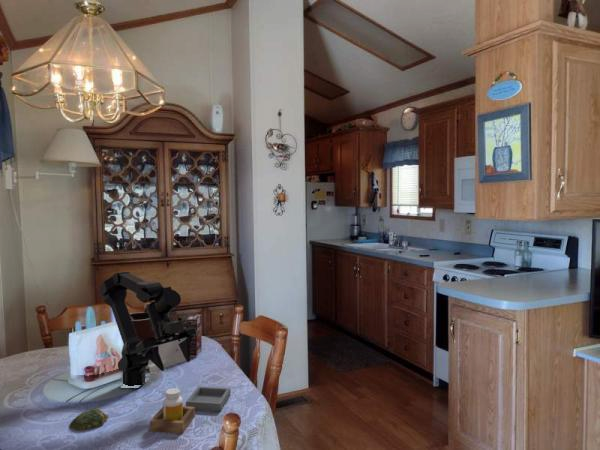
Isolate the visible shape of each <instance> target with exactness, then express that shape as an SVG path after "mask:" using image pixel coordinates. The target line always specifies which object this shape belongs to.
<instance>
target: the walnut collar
mask: <svg viewBox="0 0 600 450" xmlns="http://www.w3.org/2000/svg"><path fill="white" fill-rule="evenodd" d="M195 413H196V410H195V407H189V406H186V405H183V418H182V419H181V420H180V421H178V420H163V406H162V407H161V408H160V409H159V410H158V411H157V412H156V413H155V414H154V416H153V417H152V418H151V419H150V420H149V432H152V433H164V434H165V433H166V434H167V433H169V434H179V435H180V434H181V435H182V434H184V433H185V431H186V430H187V429H188V427H189V426H190V424H191V422H193V420H194V418H195V417H196V415H195Z"/></svg>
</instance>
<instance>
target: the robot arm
mask: <svg viewBox="0 0 600 450" xmlns="http://www.w3.org/2000/svg"><path fill="white" fill-rule="evenodd" d="M98 289H99V290H98V292H99V295H100V296H101V298H102V300H103V303H105V304H106V305H108V306H109V307H110V308H111V311H112V314H113V316H114V320H115V323H116V326H117V329H118V332H119V334H120V337H121V341H122V343H123V344H122V349H121V351H120V353H121V358H120V359H119V361H118V362H117V367H118V368H117V369H118V370H119V371H121V372H122V385H123V384H125V385H128V386H134V385H142V384H143V383H144V382H145V380H146V371H145V369H144V366H148V363H149V360H151V361H152V362H153V363H154V364H155V365H156V366H157V367H158V368H159V370H160V371H161V372H164V371H165V368H164V366H163V363H162V360H161V358H160V355H159V346H158V345H162V344H165V343H169V342H173V341H179V342H180V344H179V347H180V349H181V351H182V353H183V355H184V357H185V359H186V361H185V362H186V363H190V361H191V357H190V344H191V341H192V339H193V338H194V336H195V335H196V334H197V332H196V329H195V328H193V327H190V328H186V326H188V321H187V319H188V318H187V317H186V316H185V315H184V316H179V317H178V318H177V320H174V318H173V316H172V317H170V313H171V312H172V311H173V310H175V308H177V307H178V306H179V305H180V304H181V302H182V297H181V294H179V292H177V291H176V290H175V289H172V287H171V286H166V287H164V286H163V285H162V284H161V282H158V281H145V280H144V279H142V278H140V277H138V276H136V275H133V274H132V273H131V272H130V271H125V270H124V271H121V272H115V273H114V274H112V276H110V277H109V278H108V279H106V280H103V282H102V284H101V285H100V286H99V288H98ZM127 290H129V291H131V292H133V293H135V294H136V295H135V297H136V298H137V299H138V300H139V301H140V302H141V303H146V304H145V308H144V309H143V312H144V313H147V312H148V315H149V318H150V321H151V324H152V327H150V328H151V330H154V333H155V336H156V339H155V338H154V337H152V338H148V339H143V340H140V339H139V338H138V337H137V334H136V331H135V328H134V326H133V323H132V320H131V317H130V314H131V313H130V312H129V310H128V306H127V303H126V299H127V294H128V292H127ZM147 302H150V303H147ZM145 383H146V382H145ZM145 383H144V384H145ZM144 384H143V385H144ZM143 385H142V386H143Z"/></svg>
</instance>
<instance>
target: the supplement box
mask: <svg viewBox="0 0 600 450" xmlns="http://www.w3.org/2000/svg"><path fill="white" fill-rule="evenodd" d="M202 317H203V316H202V314H197V313H196V314H194V313H193V314H190V316H188V318H187V321H188V326H186V327H185V329H186V328H190V327H193V328H195V329H196V332H197V334H196V335H195V336H194V338H193V339H192V341H191V344H190V359H191V358H195V359H196V358H197V357H198V356H199V355H200V353H201V352H202V349H203V347H202V346H203V345H202V342H203V341H202V339H203V338H202V336H203V334H202V333H203V332H202V331H203V330H202V326H203V325H202V323H203V322H202V320H203V318H202Z"/></svg>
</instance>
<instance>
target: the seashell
mask: <svg viewBox="0 0 600 450" xmlns="http://www.w3.org/2000/svg"><path fill="white" fill-rule="evenodd" d="M108 419H109V415H108V414H107V413H105V412H103V410H101V409H98V408H92V409H87V410H85V411H83V412H81V413H80V414H78V415H77V416H76V417H75V418H73V420H72V421H71V422H70V423H69V428H70V429H71V430H74V431H76V432H77V431H78V432H81V431H87V430H92V429H94V428H100V427H103V426H104V423H106V422H107V421H108Z"/></svg>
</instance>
